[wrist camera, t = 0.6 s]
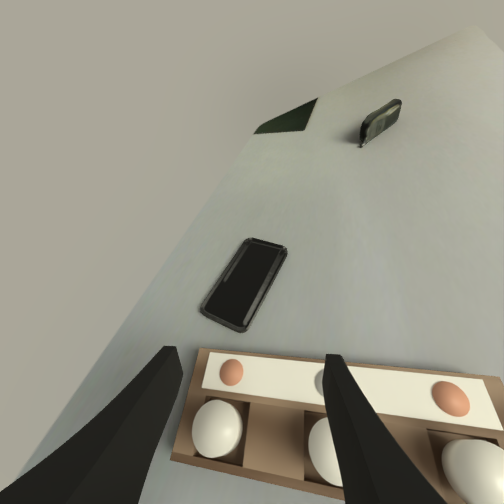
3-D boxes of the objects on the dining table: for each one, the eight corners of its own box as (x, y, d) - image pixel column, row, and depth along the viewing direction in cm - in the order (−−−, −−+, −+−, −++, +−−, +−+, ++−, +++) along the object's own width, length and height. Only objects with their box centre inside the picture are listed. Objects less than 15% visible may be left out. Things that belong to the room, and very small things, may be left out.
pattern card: (502, 430, 18) (504, 430, 18) (202, 387, 24) (201, 387, 24) (481, 379, 20) (483, 379, 20) (210, 352, 27) (209, 351, 26)
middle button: (361, 486, 18) (368, 492, 16) (308, 475, 19) (308, 479, 17) (355, 423, 20) (359, 421, 18) (308, 415, 21) (308, 413, 19)
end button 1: (238, 460, 20) (231, 462, 18) (197, 451, 21) (185, 452, 19) (245, 406, 23) (239, 403, 21) (208, 400, 24) (199, 396, 22)
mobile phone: (392, 96, 53) (355, 122, 48) (406, 97, 52) (369, 125, 46) (386, 119, 57) (352, 146, 52) (399, 121, 55) (364, 149, 50)
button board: (549, 541, 16) (581, 555, 14) (181, 458, 23) (169, 459, 21) (483, 382, 22) (499, 376, 20) (206, 353, 29) (199, 347, 27)
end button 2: (523, 521, 15) (553, 533, 13) (453, 506, 16) (472, 515, 14) (493, 444, 18) (515, 445, 16) (434, 435, 19) (448, 434, 17)
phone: (289, 247, 36) (243, 333, 29) (289, 251, 37) (245, 336, 30) (247, 236, 40) (196, 310, 32) (248, 240, 41) (199, 314, 33)
